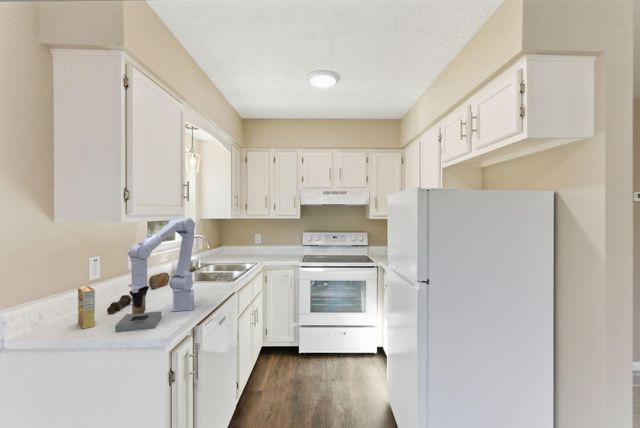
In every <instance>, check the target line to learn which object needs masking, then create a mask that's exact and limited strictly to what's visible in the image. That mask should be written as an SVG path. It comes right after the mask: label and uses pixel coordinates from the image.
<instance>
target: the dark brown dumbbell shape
mask: <svg viewBox="0 0 640 428" xmlns="http://www.w3.org/2000/svg"><path fill="white" fill-rule="evenodd" d="M129 304H132V296H131V295H130V294H123V295H121V296H120V298H119V300H118V301H113V302H111V303H110V305H109V306H108V307H107V308H106V312H107V313H108V314H113V313H116V311H118V312H119V311H120V310H121V309H122V307H124V306H130V305H129Z"/></svg>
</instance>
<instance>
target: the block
mask: <svg viewBox="0 0 640 428" xmlns="http://www.w3.org/2000/svg"><path fill="white" fill-rule="evenodd" d="M131 298H132V297H131ZM131 308H132V309H131V311H132V312H131V314H143V313H146V297H145V294H144V296H143V301H142V306H141V307H140V308H135V305H134V301H133V298H132V301H131Z"/></svg>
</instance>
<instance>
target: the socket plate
mask: <svg viewBox="0 0 640 428" xmlns="http://www.w3.org/2000/svg"><path fill="white" fill-rule="evenodd" d="M162 314H163V313H162V310H160V311H150V312H144V313H143V314H132V313H127V314H125V315H124V316H123V317H122V318H121V319H120V320H119V321H118V322H117V323H116V325H115V326H114V327H115V330H114V331H115V333H118V332H119V333H120V332H131V331H141V330H150V329H156V327H157V326H158V323H159V322H160V320H161V319H162V317H163V316H162Z"/></svg>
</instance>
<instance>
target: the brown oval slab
mask: <svg viewBox="0 0 640 428" xmlns="http://www.w3.org/2000/svg"><path fill="white" fill-rule="evenodd" d="M169 282H170V275H169V273H168V272H159V273H157V274H153V275H150V277H149V278H148V286H149V288H150V289H152V290H158V289H159V288H162V287H166V286H167V285H168V284H169Z"/></svg>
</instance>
